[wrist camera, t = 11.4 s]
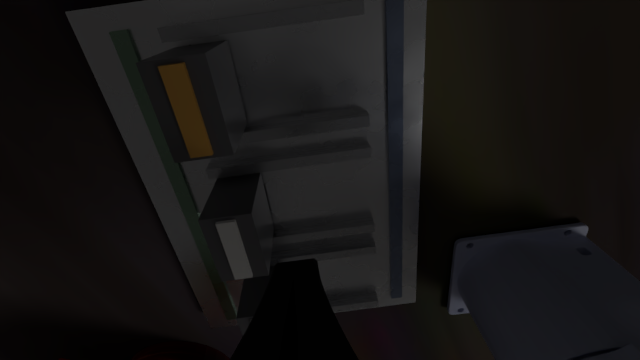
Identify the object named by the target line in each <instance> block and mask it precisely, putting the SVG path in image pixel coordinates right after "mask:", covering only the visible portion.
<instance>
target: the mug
mask: <svg viewBox="0 0 640 360" xmlns="http://www.w3.org/2000/svg"><path fill="white" fill-rule="evenodd" d="M59 360H69V359H64V358H59ZM132 360H230V359H229V358H228V357H227V356H226V355H225V354H223V353H222V352H220V351H218V350H216V349H214V348H212V347H209V346H206V345H202V344H199V343H193V342H186V341H171V342H162V343H158V344H153V345H151V346H148V347H146V348H144V349H142V350H141V351H139V352H137V353H136V354H135V356H134V357H133V358H132Z"/></svg>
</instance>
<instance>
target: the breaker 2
mask: <svg viewBox="0 0 640 360" xmlns="http://www.w3.org/2000/svg"><path fill="white" fill-rule="evenodd" d="M273 269H274V267H270V270H269V275H268V276H260V277H253V278H245V279H244V281H243V286H242V291H241V296H240V301H239V306H238V311H237V316H236V320H237V322H238V325H239V328H240V330H241V333H242V335H244V334H245V332H246V330H247V328H248V326H249V324H250V322H251V320H252V318H253V316H254V314H255V312H256V310H257V308H258V306H259V303H260V301H261V299H262V297H263V295H264V292H265V290H266V287H267V285H268V283H269V280H270V277H271V275H272V272H273Z"/></svg>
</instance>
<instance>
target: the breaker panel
mask: <svg viewBox="0 0 640 360" xmlns="http://www.w3.org/2000/svg"><path fill="white" fill-rule="evenodd" d="M426 6H427V0H144V1H137V2H130V3H123V4H116V5H109V6H102V7H95V8H88V9H81V10H74V11H67V12H65V13H66V16H67V18H68V20H69V22H70V24H71V26H72V29H73V31H74V33H75V35H76V37H77V39H78V42H79V44H80V46H81V48H82V50H83V52H84V55H85V57H86V59H87V61H88V63H89V66H90V68H91V70H92V72H93V74H94V76H95V79H96V81H97V83H98V85H99V87H100V89H101V92H102V94H103V96H104V98H105V100H106V102H107V105H108V107H109V109H110V111H111V113H112V115H113V118H114V120H115V122H116V124H117V126H118V129H119V131H120V133H121V135H122V137H123V139H124V142H125V144H126V146H127V148H128V150H129V152H130V155H131V157H132V159H133V161H134V163H135V165H136V168H137V170H138V172H139V174H140V176H141V178H142V181H143V183H144V185H145V187H146V189H147V192H148V194H149V196H150V198H151V200H152V202H153V205H154V207H155V209H156V211H157V213H158V215H159V218H160V220H161V222H162V224H163V226H164V228H165V231H166V233H167V235H168V237H169V239H170V241H171V244H172V246H173V248H174V250H175V252H176V255H177V257H178V259H179V261H180V263H181V265H182V268H183V270H184V272H185V274H186V276H187V278H188V281H189V283H190V285H191V287H192V289H193V291H194V294H195V296H196V298H197V300H198V302H199V304H200V307H201V309H202V311H203V313H204V315H205V318H206V320H207V322H208V324H209V326H210V328H211V329H213V328H221V327H228V326H236V325H238V322H237V320H236V316H237V311H238V306H239V301H240V296H241V291H242V286H243V281H244V279H238V280H230V281H221V279H220V276H219V274H218V271H217V268H216V266H215V263H214V261H213V258H212V256H211V253H210V250H209V248H208V245H207V243H206V240H205V238H204V235H203V232H202V230H201V227H200V225H199V222H198V219H199V217H200V215H201V213H202V211H203V208H204V206H205V204H206V202H207V200H208V197H209V195H210V193H211V191H212V189H213V186H214V184H215V182H216V180H217V178H224V177H231V176H239V175H246V174H254V173H261V176H262V180H263V184H264V189H265V193H266V197H267V201H268V205H269V209H270V213H271V217H272V221H273V225H274V233H273V243H272V252H271V261H270V267H274V266H275V265H276V264H277V263H281V262H289V261H296V260H304V259H311V258H314V259H316V260H317V262H318V268H319V273H320V278H321V282H322V285H323V288H324V290H325V293H326V296H327V298H328V301H329V303H330V305H331V307H332V310H333V312H334V313H336V312H344V311H351V310H359V309H367V308H375V307H382V306H390V305H398V304H405V303H413V302H416V275H417V248H418V221H419V194H420V167H421V140H422V113H423V86H424V59H425V33H426ZM225 40H227V41H228V45H229V49H230V53H231V57H232V61H233V65H234V70H235V74H236V78H237V82H238V86H239V90H240V94H241V98H242V102H243V106H244V110H245V114H246V118H247V122H248V123H247V125H246V127H245V130H244V132H243V135H242V137H241V139H240V142H239V144H238V147H237V149H236V151H235V154H234V155H230V156H223V157H216V158H208V159H201V160H194V161H186V162H179V163H174V160H173V158H172V155H171V153H170V150H169V148H168V145H167V142H166V140H165V137H164V135H163V132H162V130H161V127H160V124H159V122H158V119H157V117H156V114H155V112H154V109H153V107H152V104H151V101H150V99H149V96H148V94H147V91H146V89H145V86H144V84H143V81H142V78H141V76H140V73H139V71H138V68H137V66H136V62H139V61H141V60H144V59H146V58H149V57H152V56H154V55H157V54H159V53H162V52H164V51H167V50H169V49H172V48H175V47H182V46H189V45H197V44H204V43H211V42H218V41H225Z"/></svg>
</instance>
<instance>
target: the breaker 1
mask: <svg viewBox="0 0 640 360" xmlns="http://www.w3.org/2000/svg"><path fill="white" fill-rule="evenodd" d="M198 222H199V225H200V227H201V230H202V232H203V235H204V238H205V240H206V243H207V245H208V248H209V250H210V253H211V256H212V258H213V261H214V263H215V266H216V268H217V271H218V274H219V276H220V279H221V281H230V280H238V279H245V278H253V277H260V276H268V275H269V270H270V261H271V252H272V243H273V233H274V225H273V221H272V217H271V213H270V209H269V205H268V201H267V197H266V193H265V189H264V184H263V180H262V176H261V173H254V174H246V175H239V176H231V177H224V178H217V180H216V182H215V184H214V186H213V189H212V191H211V193H210V195H209V197H208V200H207V202H206V204H205V206H204V208H203V211H202V213H201V215H200V217H199V219H198Z"/></svg>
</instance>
